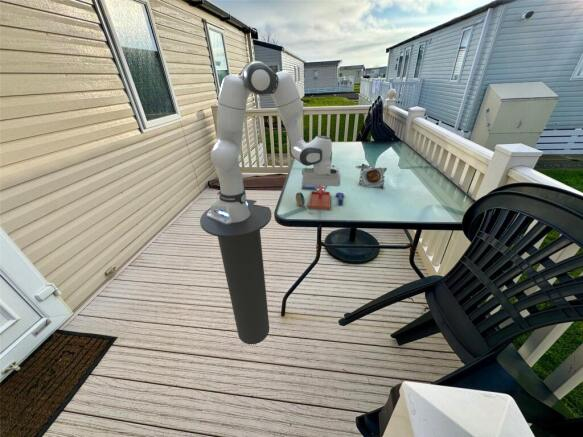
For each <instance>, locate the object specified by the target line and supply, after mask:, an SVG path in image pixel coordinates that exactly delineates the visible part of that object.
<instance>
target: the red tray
mask: <svg viewBox="0 0 583 437" xmlns="http://www.w3.org/2000/svg"><path fill="white" fill-rule="evenodd" d="M318 198H319V193H316V190H310V196H309V202H308V203H309V204H308V210H325V211H326V210H327V211H330V210H331V191H325V193H322V199H318Z"/></svg>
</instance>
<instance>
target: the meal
mask: <svg viewBox="0 0 583 437" xmlns="http://www.w3.org/2000/svg"><path fill="white" fill-rule="evenodd" d="M387 170H388V168H387V167H381V166H380V167H373V166H371V165H368V164H364V163H361V166H360V173H359V181H358V185H360V186H363V187H366V188H380V189H384V184H385V181H386V180H385V178H386V176H385V173H386V171H387Z"/></svg>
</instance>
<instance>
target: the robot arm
mask: <svg viewBox="0 0 583 437" xmlns="http://www.w3.org/2000/svg"><path fill="white" fill-rule="evenodd" d="M251 94H255V95H257V96H266V95H270V96H271V98H272V101H273V104H274V105H275V108H276V110H277V113H278V115H279V118H280V119H281V120H282V123H283V126H284V129H285V133H286V135H287V139H288V142H289V149H288V150H289V154H290V156H291V158H293V160H295V161H296V160H297V162H299V163H300V164H301V165H302V166H307V167H304V168H302V170H301V175H302V181H301V184H302V185H315V189H316V190H315V191H316V193H319V189H318V188H317V186H323V187H325V188H324V189H322V193H325V192H326V190H327V189H328V187H339V186H341V174H340V167H339V166H338V165H337V164H333V163H332V161H331V160H330V157H331V153H332V154H333V150H332V149H333V145H332V139H331V138H330V137H328V136H325V135H316V136H315V137H314V138H313V139H312V140H310V141H309V142H307V141H305V140H304V139H303V137H302V135H301V132H300V128H299V123H298V120H300V119H301V117H302V115H303V112H304V106H303V101H302V98H301V95H300V92H299V90H298V86H297V85H296V82H295V80H294V79H293V76H292V75H291V73H290V72H288V71H285V70H282V71H277V72H275V71H274V70H273V69H272V68H271V67H269V65H268V64H266V63H264V62H263V61H260V60H251V61H249V62H247V63H246V64H245V66H244V67H243V68H242V70H241V71H240V72H239V73H238V75H237V74H227V75H226V76H224V77H223V80H222V82H221V85H220V90H219V95H218V102H217V103H218V104H217V114H216V128H217V131H216V132H217V134H216V136H217V137H216V138H217V139H216V143H215V144H214V145H213V146H212V148H211V151H210V161H211V163H212V165H213V166H214V169H215V172H216V174H217V177H218V182H219V187H220V190H219V191H218V192H217V193H216V194H217V196H219V197H216V199H215V200H214V201H213V202H212V203H211V205H210V208H211V210H210V211H209V212H208V213H207V217H209V218H211V219H214V220H216V221H219V222H221V223H223V224H226V225H227V224H231V223H235V222H241V221H244V220H246V219H247V218H248V217H249V216H250V211H249V209H248V206H247V205H248V204H247V202H246V199H247V195H246V193H247V192H246V189H245V187H244V186H245V185H244V176H243V173H242V171H241V167H240V162H239V159H240V158H239V157H240V154H241V152H242V144H243V132H244V124H245V118H246V110H247V102H248V99H249V97H250V95H251ZM309 166H312V167H309Z"/></svg>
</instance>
